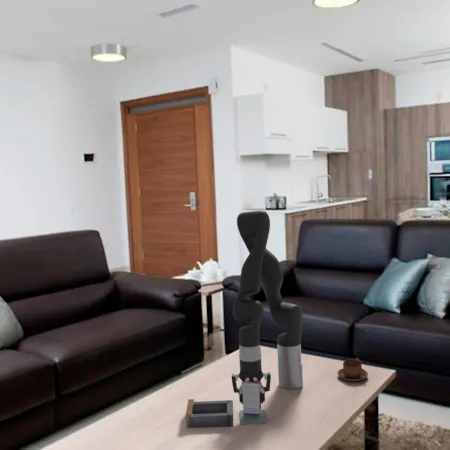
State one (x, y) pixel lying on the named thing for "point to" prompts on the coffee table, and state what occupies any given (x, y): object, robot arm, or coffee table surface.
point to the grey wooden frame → (209, 414)
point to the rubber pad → (253, 418)
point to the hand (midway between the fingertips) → (252, 402)
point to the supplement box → (251, 398)
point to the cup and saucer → (352, 371)
